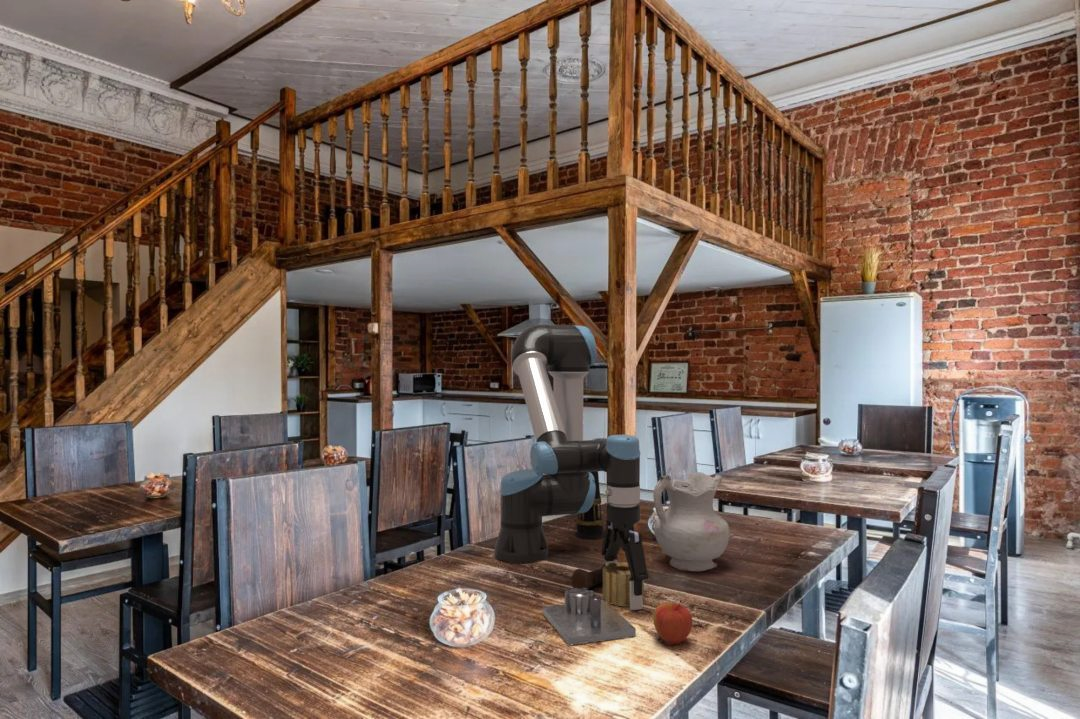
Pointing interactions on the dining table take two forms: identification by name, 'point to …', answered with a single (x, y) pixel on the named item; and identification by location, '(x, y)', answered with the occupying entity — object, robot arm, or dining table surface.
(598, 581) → the bolt
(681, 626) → the apple
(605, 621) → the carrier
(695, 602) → the dining table surface
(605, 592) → the gear
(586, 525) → the lantern
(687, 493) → the ceramic pitcher
